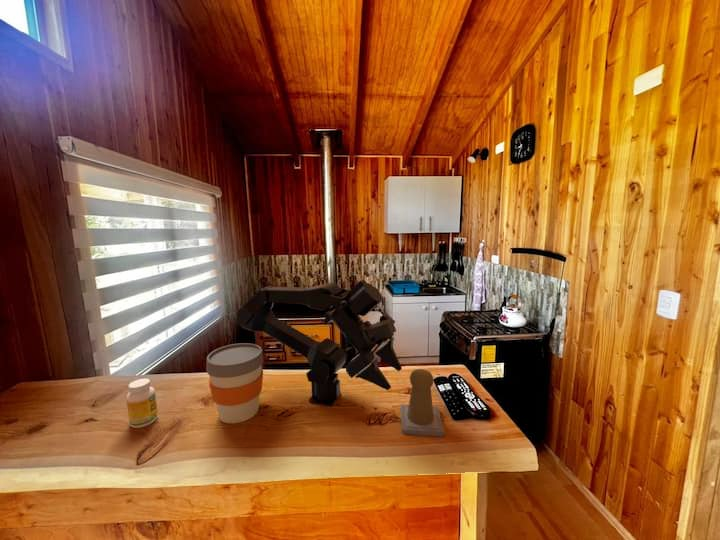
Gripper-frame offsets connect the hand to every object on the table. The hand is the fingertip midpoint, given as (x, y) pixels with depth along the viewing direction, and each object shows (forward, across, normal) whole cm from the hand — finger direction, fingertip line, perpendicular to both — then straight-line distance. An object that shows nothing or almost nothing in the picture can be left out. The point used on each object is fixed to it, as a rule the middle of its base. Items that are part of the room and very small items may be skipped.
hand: (395, 378), depth 70 cm
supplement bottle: (-30, -24, +45) cm, 59 cm away
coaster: (+11, 0, +2) cm, 11 cm away
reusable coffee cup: (-18, -13, +32) cm, 39 cm away
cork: (+10, 0, +1) cm, 10 cm away
